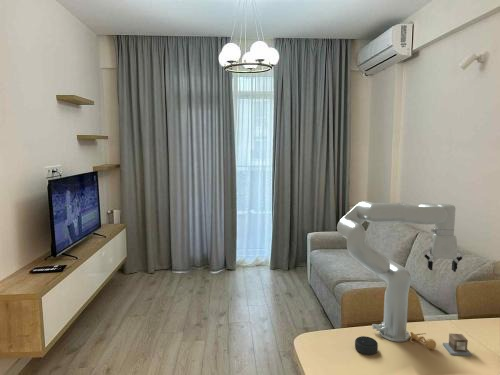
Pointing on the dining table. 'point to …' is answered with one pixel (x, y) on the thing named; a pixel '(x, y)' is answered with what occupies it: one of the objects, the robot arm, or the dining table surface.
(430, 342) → the figurine
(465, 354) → the rubber mat
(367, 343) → the smart speaker
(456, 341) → the marked cube
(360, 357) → the dining table surface
